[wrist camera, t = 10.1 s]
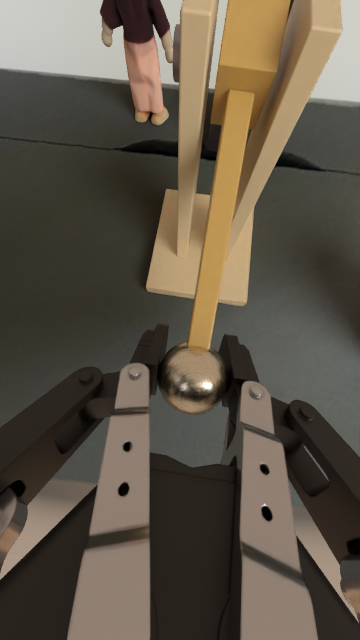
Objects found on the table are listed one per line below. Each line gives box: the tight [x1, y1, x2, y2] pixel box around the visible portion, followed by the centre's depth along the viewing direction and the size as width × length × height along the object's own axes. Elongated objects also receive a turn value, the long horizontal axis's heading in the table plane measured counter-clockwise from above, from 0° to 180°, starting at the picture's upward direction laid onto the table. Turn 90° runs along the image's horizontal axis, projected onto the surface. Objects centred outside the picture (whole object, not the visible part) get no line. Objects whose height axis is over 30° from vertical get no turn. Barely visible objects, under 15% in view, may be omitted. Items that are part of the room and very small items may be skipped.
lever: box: [158, 0, 291, 415], centre depth 9 cm, size 17×4×4 cm, turn 172°
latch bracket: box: [146, 0, 342, 306], centre depth 13 cm, size 12×10×15 cm
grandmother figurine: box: [100, 0, 173, 125], centre depth 19 cm, size 8×4×13 cm, turn 87°
